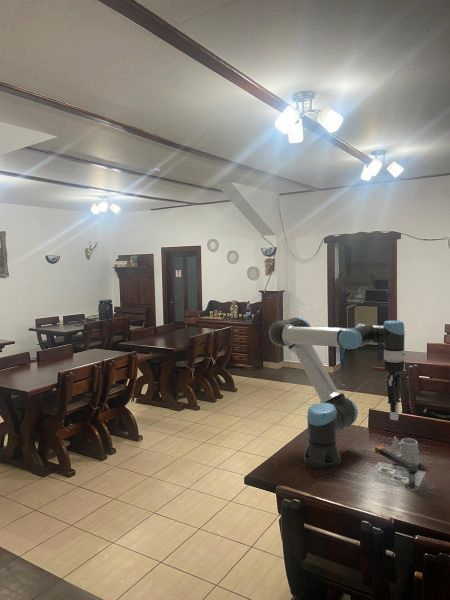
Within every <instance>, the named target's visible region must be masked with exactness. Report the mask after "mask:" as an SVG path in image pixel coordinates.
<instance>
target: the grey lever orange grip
mask: <svg viewBox="0 0 450 600" xmlns="http://www.w3.org/2000/svg"><path fill="white" fill-rule="evenodd" d="M374 452H375V453H376V454H377V455H382V456H383V457H385V458H387V459H388V460H390V461H392V463H393V462H395V463H394V464H397V465H398V466H400V467H404V468H406V469H407V472H409V473H417V470H418V466H417V465H416V464H414V463H409V462H407V461H405V460H403V459H402V458H400V457H398V455H397V454H395V455H394V454H392V453H391V452H390V451H389V450H387V449H385V447H383V446H382V445H377V446H375V447H374Z"/></svg>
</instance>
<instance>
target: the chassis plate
mask: <svg viewBox="0 0 450 600" xmlns="http://www.w3.org/2000/svg"><path fill="white" fill-rule="evenodd" d="M380 467H384V468H388V469H393V470H396V472H395V474H394V475H396V476H400V477H405V478H409V472H407V469H406V468H404V467H402V466H400V465H395V464H391V463H386V462H382V461H378V462H377V463H376V465H375V466H374V468H373V469H372V471H371V472H369V474H368V475H367V477H366V480H369V481H373V482H377V483H380V484H385V485H390V486H393V487H396V488H400V489H401V488H402V489H406V488H405V485H406V484H404V483H400V482H396V481H392V480H390V479H391V477H392V476H393V475H390V474H385V473H381V472H377V471H378V469H379V468H380ZM426 473H427V471H423V470H419V469H417V473H415V485H417V486H419V487H420V485H421V483H422V481H423V479H424V477H425V475H426ZM407 484H409V482H408V483H407ZM406 490H407V489H406ZM417 491H418V490H416V491H415V492H417Z"/></svg>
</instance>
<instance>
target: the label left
mask: <svg viewBox="0 0 450 600" xmlns="http://www.w3.org/2000/svg"><path fill="white" fill-rule="evenodd" d="M377 472H381V473H385V474H390V475H394V474H395V472H396V470H393V469H388V468H384V467H380V468H379V469H378V471H377Z"/></svg>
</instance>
